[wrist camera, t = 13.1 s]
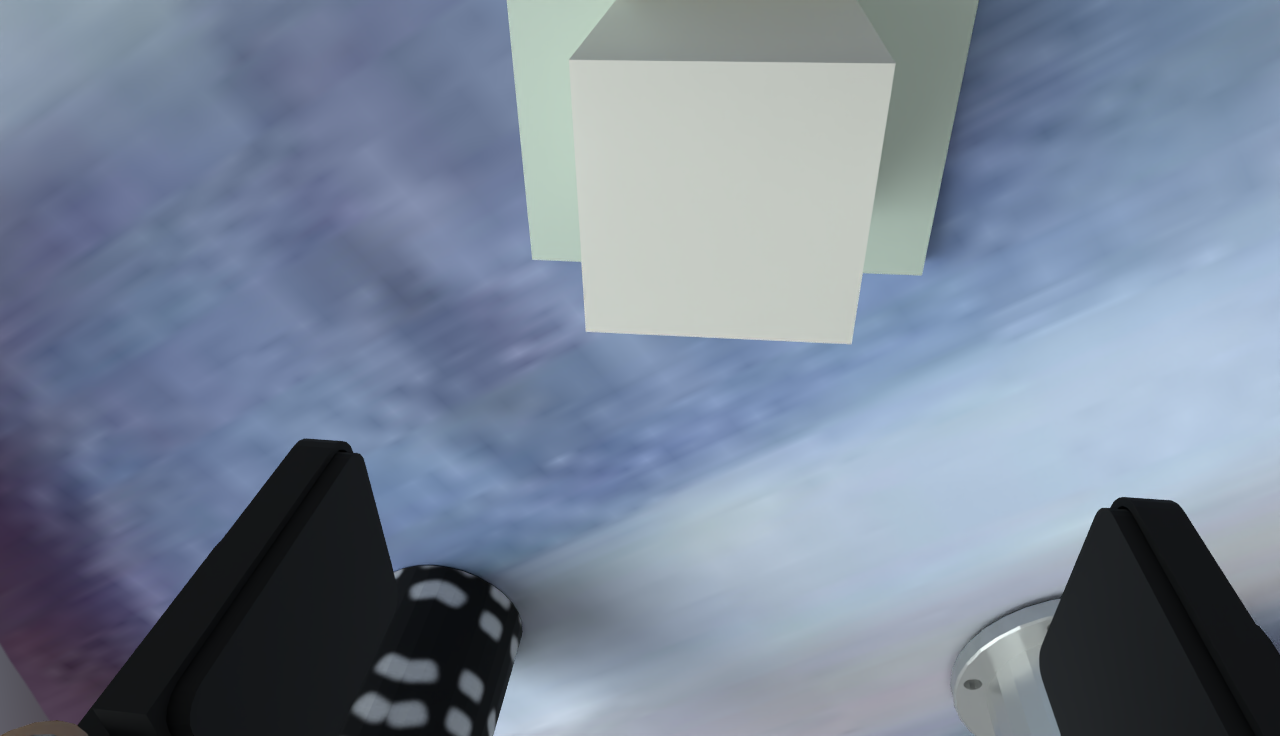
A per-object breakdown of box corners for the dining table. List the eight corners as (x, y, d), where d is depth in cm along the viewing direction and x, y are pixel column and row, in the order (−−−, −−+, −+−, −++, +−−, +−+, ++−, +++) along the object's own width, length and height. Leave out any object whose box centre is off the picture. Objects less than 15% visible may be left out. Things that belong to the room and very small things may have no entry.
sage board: (987, -87, 23) (995, -83, 22) (917, 262, 29) (921, 275, 28) (507, -84, 24) (498, -81, 23) (538, 247, 30) (532, 259, 29)
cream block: (854, -3, 23) (895, 63, 17) (827, 219, 27) (851, 344, 21) (618, -4, 24) (569, 59, 17) (624, 213, 28) (585, 331, 21)
